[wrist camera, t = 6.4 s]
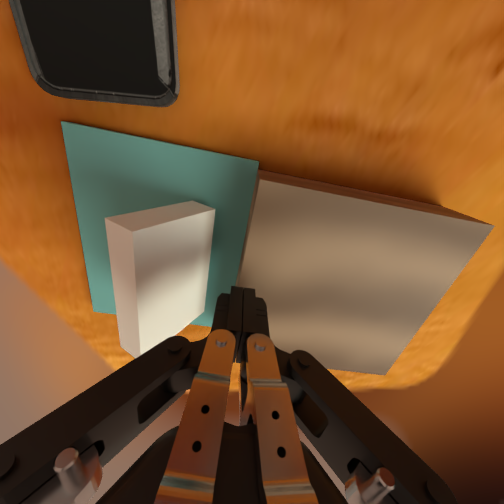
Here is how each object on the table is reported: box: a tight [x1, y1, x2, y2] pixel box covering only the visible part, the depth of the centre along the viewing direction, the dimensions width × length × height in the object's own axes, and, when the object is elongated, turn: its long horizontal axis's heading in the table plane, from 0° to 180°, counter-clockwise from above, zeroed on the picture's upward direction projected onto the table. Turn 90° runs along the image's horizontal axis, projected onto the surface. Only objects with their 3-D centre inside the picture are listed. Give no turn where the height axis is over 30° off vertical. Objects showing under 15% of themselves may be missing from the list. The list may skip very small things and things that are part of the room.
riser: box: [235, 169, 494, 375], centre depth 17 cm, size 14×14×4 cm
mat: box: [61, 121, 259, 327], centre depth 18 cm, size 15×12×1 cm
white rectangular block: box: [105, 201, 215, 358], centre depth 15 cm, size 9×6×2 cm
